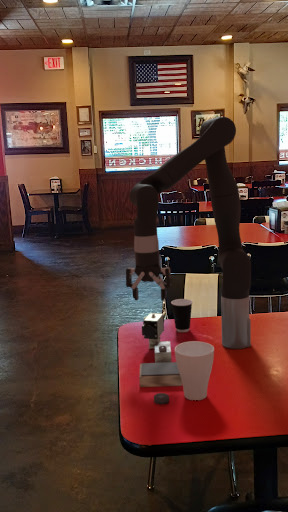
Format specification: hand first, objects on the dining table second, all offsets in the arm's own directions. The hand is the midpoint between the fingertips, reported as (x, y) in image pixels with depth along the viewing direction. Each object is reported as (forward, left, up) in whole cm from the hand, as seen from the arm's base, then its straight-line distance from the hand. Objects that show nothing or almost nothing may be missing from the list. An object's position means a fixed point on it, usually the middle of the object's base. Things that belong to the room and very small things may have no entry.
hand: (149, 299), depth 153 cm
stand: (-2, +15, -20) cm, 25 cm away
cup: (-12, +26, -20) cm, 35 cm away
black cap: (-2, +28, -20) cm, 35 cm away
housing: (-3, +2, -20) cm, 20 cm away
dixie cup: (-11, -26, -20) cm, 35 cm away
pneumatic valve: (0, -10, -20) cm, 22 cm away
